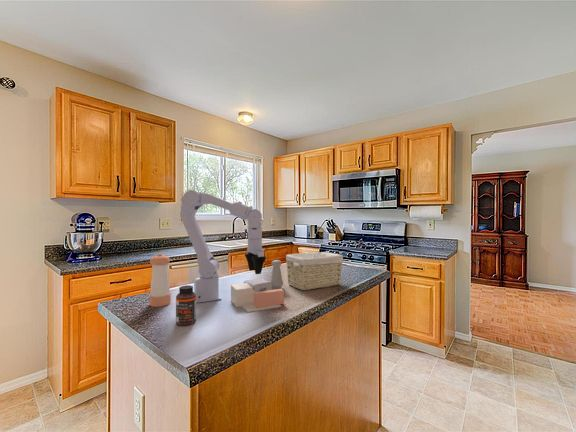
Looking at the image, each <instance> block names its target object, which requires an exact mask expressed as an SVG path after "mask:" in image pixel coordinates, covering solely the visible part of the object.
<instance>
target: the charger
mask: <svg viewBox="0 0 576 432" xmlns="http://www.w3.org/2000/svg"><path fill="white" fill-rule="evenodd" d="M243 283H249V284H250V285H252V286H253V287H254V292H260V291H267V290H273V289H272V283H271V282H270V280H269V281H268V280H267V279H262V278H259V277H258V278H253V279H248V280H244V282H243Z"/></svg>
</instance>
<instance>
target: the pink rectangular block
mask: <svg viewBox="0 0 576 432" xmlns="http://www.w3.org/2000/svg"><path fill="white" fill-rule="evenodd" d="M278 304H280V305H282V304H283V305H284V304H285V291H284V289H282V288H281V289H275V290H273V289H272V290H267V291H260V292H254V306H255V307H256V308H259V307H266V306H272V305H278Z"/></svg>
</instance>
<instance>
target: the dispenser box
mask: <svg viewBox="0 0 576 432" xmlns="http://www.w3.org/2000/svg"><path fill="white" fill-rule="evenodd" d="M230 302H231V303H232V304H233V305H234V306H235V307H236V308H238V307H239V308H240V307H242V306H246V305H253V304H254V287H253V286H252V285H250V284H249V283H244V282H242V283H234V284H230Z"/></svg>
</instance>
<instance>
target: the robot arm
mask: <svg viewBox="0 0 576 432" xmlns="http://www.w3.org/2000/svg"><path fill="white" fill-rule="evenodd" d="M180 201H181V203H180V204H181V205H180V212H179V216H180V219H181V221H182V224H183V226H184V228H185V230H186V233H187V235H188V238H189V240H190V242H191V245H192V246H193V247H192V248H193V249H194V252H195V254H196V256H197V257H196V258H197V260H196V261H197V265H198V273H199V276H198V277H195V278H194V280H193V285H194V286H193V292H194V293H195V294H196V304H197V303H206V302H215V301H220V300H222V297H221V296H220V293H219V291H220V290H219V286H220V285H219V282H220V281H219V279H220V277H219V273H218V272H217V271H219V268H220V263H219V261H218V260H217V259H216V258H215V256H214V255H213V253H212V252H211V251H210V249H209V246H208V244H207V241H206V240H205V238H204V235H203V233H202V230H201V228H200V226H199V223H198V221H197V219H196V214H197V212H198V210H199V209H200V208H201V207H202V206H203V205H213V206H216V207H218V208H222V209H225V210H228V212H229V214H230V216H234V217H236V218H239V219H241V220H244V221H246V220H247V222H248V223H247V224H248V226H247V248H246V249H247V250H246V251H247V252H246V253H244V257H245V259H246V262H247V265H248V269H249V271H250V272H251V271H254V273H255V275H261V274H262V270H263V265H264V263H265V261H266V259H267V255H266V256H265V255H264V252H265V248H263V233H262V232H263V227H262V218H263V215H262V212H261V211H260V210H258V209H257V208H255V209H254V207H253V206H248V205H245V204H243V202H241V201H234V202H230V201H227V200H226V199H225V200H224V199H223V198H220V197H217V196H215V195H213V194H211V193H206V192H202V191H196V190H194V189H188V190H186V191H184V194H183V195H182V197H181V199H180Z"/></svg>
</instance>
